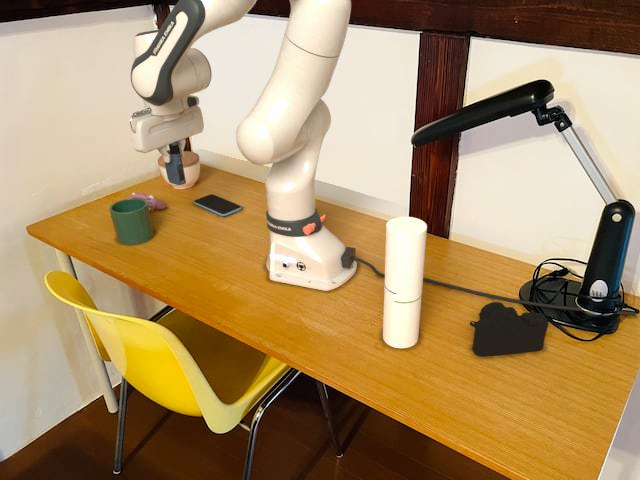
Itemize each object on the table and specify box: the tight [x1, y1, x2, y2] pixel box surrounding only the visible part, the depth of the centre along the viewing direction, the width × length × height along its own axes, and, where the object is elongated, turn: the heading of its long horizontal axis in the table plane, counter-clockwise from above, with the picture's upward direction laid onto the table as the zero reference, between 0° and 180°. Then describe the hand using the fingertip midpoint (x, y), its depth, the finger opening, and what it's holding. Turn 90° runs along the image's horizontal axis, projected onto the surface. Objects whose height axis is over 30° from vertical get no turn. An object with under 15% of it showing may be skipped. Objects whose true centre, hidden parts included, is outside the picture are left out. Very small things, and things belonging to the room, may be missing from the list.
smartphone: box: [193, 193, 243, 217], centre depth 158 cm, size 7×1×15 cm
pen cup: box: [108, 198, 155, 246], centre depth 140 cm, size 9×9×9 cm
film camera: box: [469, 301, 550, 358], centre depth 104 cm, size 15×10×9 cm, turn 98°
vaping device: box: [164, 141, 186, 185], centre depth 135 cm, size 3×5×12 cm, turn 58°
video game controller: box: [127, 192, 167, 213], centre depth 155 cm, size 10×5×7 cm, turn 73°
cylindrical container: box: [382, 216, 428, 349], centre depth 100 cm, size 7×7×25 cm
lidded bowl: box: [157, 150, 201, 190], centre depth 169 cm, size 13×13×11 cm
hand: (174, 159), depth 134 cm, fingers closed on vaping device, 2 cm apart
